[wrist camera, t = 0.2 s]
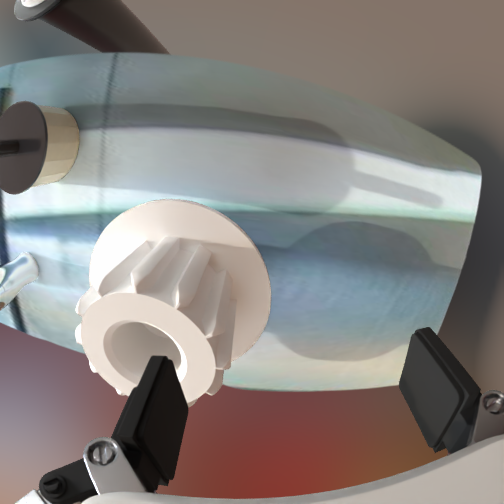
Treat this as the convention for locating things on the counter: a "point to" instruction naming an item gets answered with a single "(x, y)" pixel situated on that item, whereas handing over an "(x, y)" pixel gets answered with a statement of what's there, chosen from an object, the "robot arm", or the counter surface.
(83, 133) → the counter surface
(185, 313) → the ribbed cylinder on disc
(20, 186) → the lid
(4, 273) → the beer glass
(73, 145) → the faceted cream dish
